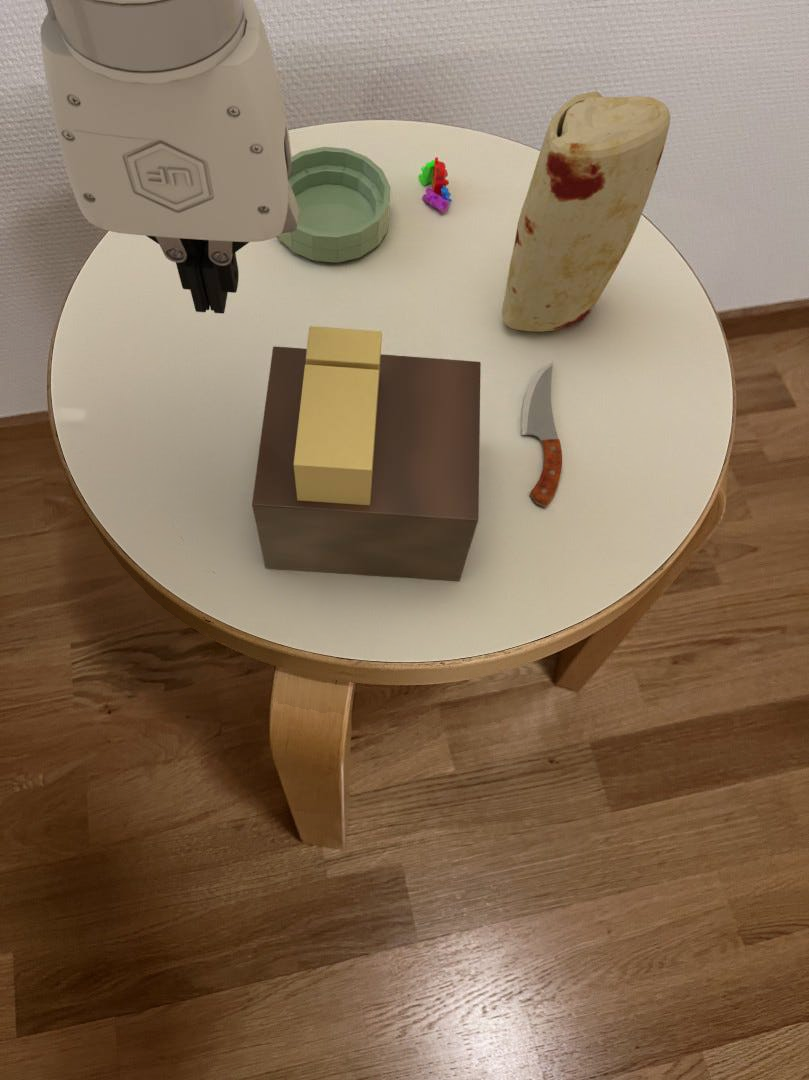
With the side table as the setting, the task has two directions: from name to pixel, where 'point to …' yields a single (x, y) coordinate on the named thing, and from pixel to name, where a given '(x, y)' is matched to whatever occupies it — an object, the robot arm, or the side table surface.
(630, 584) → the side table surface
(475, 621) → the side table surface
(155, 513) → the side table surface
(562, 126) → the food model
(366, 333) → the butter slice
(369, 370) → the butter
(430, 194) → the multicolored plastic block cluster
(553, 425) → the knife
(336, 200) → the dish
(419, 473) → the chopping block
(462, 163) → the side table surface
